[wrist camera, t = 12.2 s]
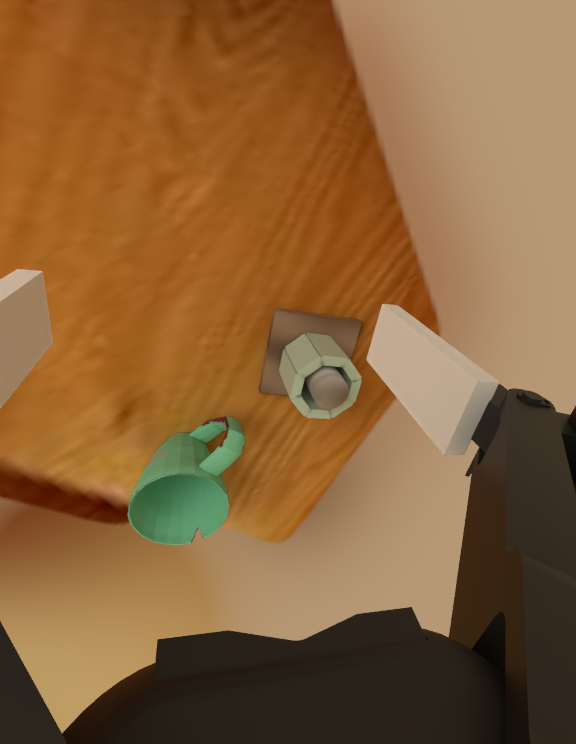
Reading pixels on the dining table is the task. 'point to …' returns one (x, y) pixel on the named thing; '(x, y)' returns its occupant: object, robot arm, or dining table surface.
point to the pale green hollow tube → (308, 358)
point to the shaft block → (326, 379)
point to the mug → (186, 485)
